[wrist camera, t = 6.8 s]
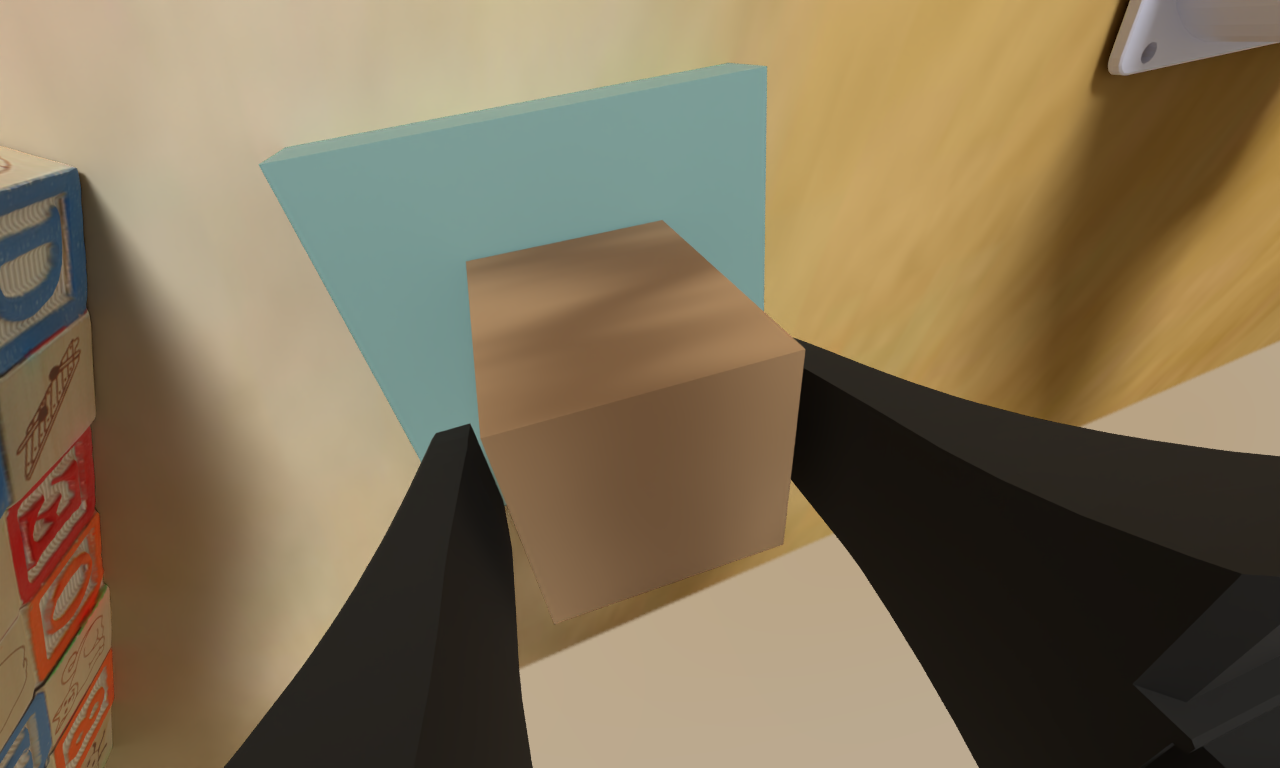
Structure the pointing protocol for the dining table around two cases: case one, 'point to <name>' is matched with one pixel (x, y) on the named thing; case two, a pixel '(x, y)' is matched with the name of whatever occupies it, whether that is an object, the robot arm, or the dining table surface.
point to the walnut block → (631, 412)
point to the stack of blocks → (49, 481)
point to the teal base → (517, 211)
